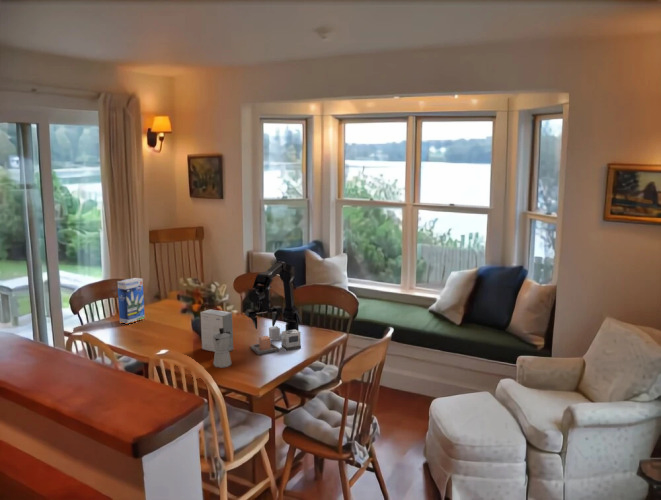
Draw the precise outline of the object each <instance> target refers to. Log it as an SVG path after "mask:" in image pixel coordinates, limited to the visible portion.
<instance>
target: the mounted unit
mask: <svg viewBox="0 0 661 500" xmlns="http://www.w3.org/2000/svg"><path fill="white" fill-rule="evenodd" d="M281 348H283V349H284V350H285V351H286V352H288V351H289V352H290V351H293V350H294V351H295V350H300V349H302V345H301V332H300V331H298V330H296V329H294V330H288V331H286V330H282V331H281Z"/></svg>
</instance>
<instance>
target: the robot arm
mask: <svg viewBox="0 0 661 500" xmlns="http://www.w3.org/2000/svg"><path fill="white" fill-rule="evenodd" d="M295 273H296V270H295V267H294V266H292V265H290V264H287V262H285V261H278V260H277V261H276V262H275V263H274V264H273V265H272V266H271V267H269V268H268V269H267V270H266V271H261V272H259V273H258V274H257V275H256V276H255V279H254V283H253V286H252V289H251V292H250V293H249V294H248V299H249V301H250V302H251V304H250V305H251V308H250V309H249V308H248V309H246V310H245V316H246V317H247V318H250V319H251V320H252V323H253V326H254V328H255V330H257V329H258V317H257V315H261V314H268V313H271V315H272V316H271V317H272V319H271V324H272V326H271V327H275V325H276V323H277V320H278V319H279V317H280V316H281V315H282V319H283V322H284V323H286V324H285V331H288V330H294V329H296V330H298V331H299V330H300V329H299V326H300V325H299V324H301V323H302V317H301V315H300V313H299V311H298V308H297V307H296V305H295V301H294V298H295V297H294V289H293V280H294V279H295V275H296V274H295ZM278 274H279V278H280V280H281V281H282V283H283V293H284V304H285V305H284V308H283V307H282V306H281V305H273V306H272V307H271V294H270V293H271V292H270V291H271V288H272V286H271V284H272V283H273V279H274V278H275V277H276V276H277V275H278ZM253 308H255V309H253ZM299 332H300V331H299Z"/></svg>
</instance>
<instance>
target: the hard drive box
mask: <svg viewBox="0 0 661 500" xmlns="http://www.w3.org/2000/svg"><path fill="white" fill-rule="evenodd" d="M199 314H200V331H201V332H200V336H201V337H200V338H201V349H202V350H203V351H204V350H205V351H210V352H214V353H215V351H216V350H215V349H214V343H213V335H215V334H218V333H220V332H219V328H224V330H223V332H224V331H225V332H227V331H228V332H230V334H231V337H230V343H229V349H228V350H229V352H231V351H233V350H234V333H233V331H234V330H233V312H230V311H225V310H224V311H223V310H218V309H217V310H216V309H211V308H210V309H206V310H204V311H200V313H199Z"/></svg>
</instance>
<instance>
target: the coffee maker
mask: <svg viewBox="0 0 661 500" xmlns="http://www.w3.org/2000/svg"><path fill="white" fill-rule="evenodd" d="M223 330H224V328H219V332H220V333H218V334H215V335H213V343H214V349H215V350H216V351H215V352H214V357H213V367H215V368H218V367H219V369H220V368H221V369H222V368H223V369H224V368H229V367H230V366H231V365H232V360H231V354H230V351H229V350H228V349H229V343H230V337H231V334H230V332H228V331H227V332H225V331H224V332H223Z"/></svg>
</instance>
